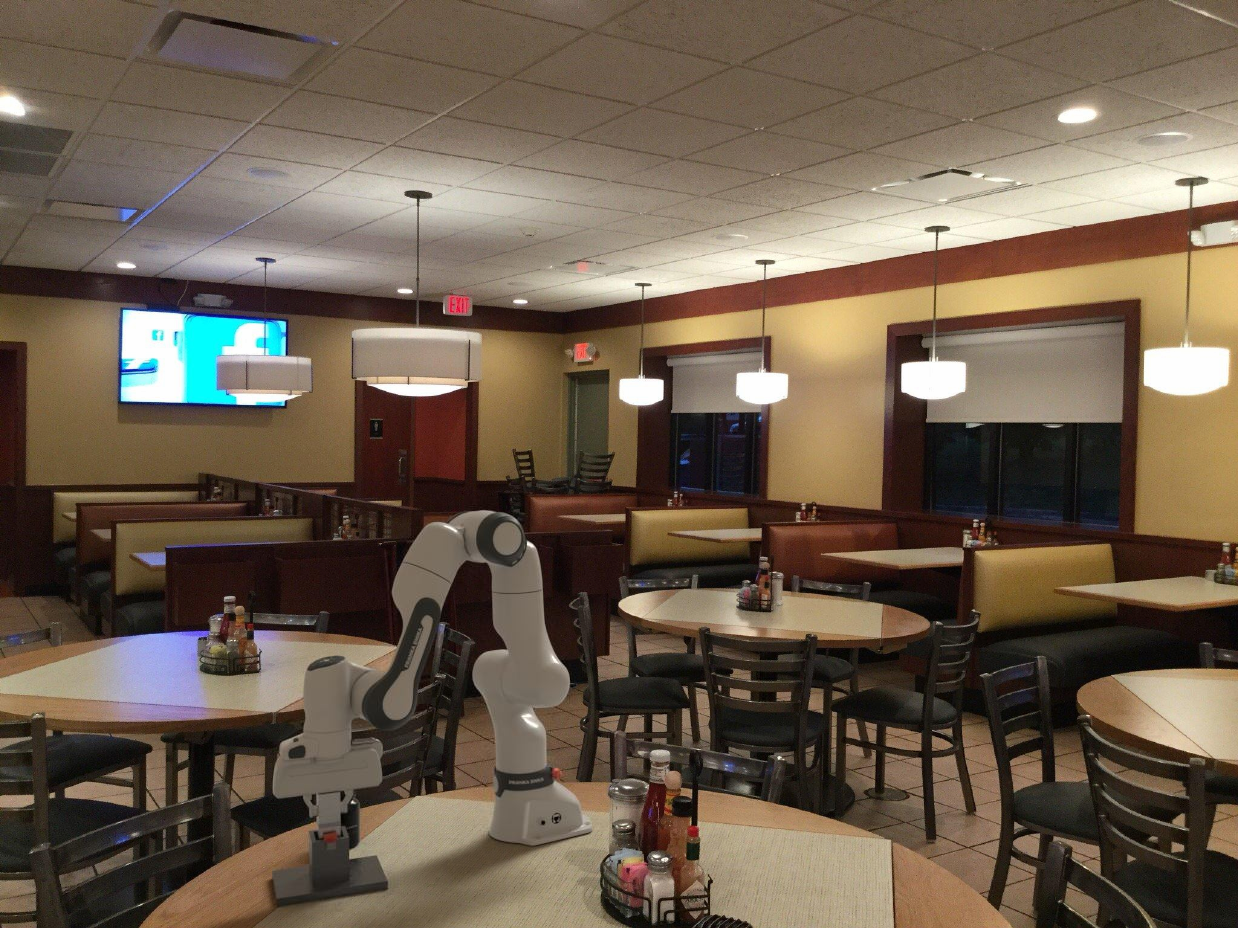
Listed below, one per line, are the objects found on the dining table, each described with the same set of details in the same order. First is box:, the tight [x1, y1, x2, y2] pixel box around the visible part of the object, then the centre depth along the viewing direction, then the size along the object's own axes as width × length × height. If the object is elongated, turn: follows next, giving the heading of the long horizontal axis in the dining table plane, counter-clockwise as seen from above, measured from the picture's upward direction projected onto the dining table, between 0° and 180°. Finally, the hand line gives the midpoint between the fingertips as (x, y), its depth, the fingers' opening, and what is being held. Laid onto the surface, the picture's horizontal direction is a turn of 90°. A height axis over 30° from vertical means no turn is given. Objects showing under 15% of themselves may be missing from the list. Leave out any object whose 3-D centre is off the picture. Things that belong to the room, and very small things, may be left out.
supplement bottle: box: [340, 789, 361, 849], centre depth 216 cm, size 7×7×12 cm
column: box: [315, 791, 341, 841], centre depth 196 cm, size 4×4×16 cm
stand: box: [271, 826, 389, 908], centre depth 196 cm, size 20×14×10 cm
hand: (328, 814), depth 196 cm, fingers closed on column, 4 cm apart
